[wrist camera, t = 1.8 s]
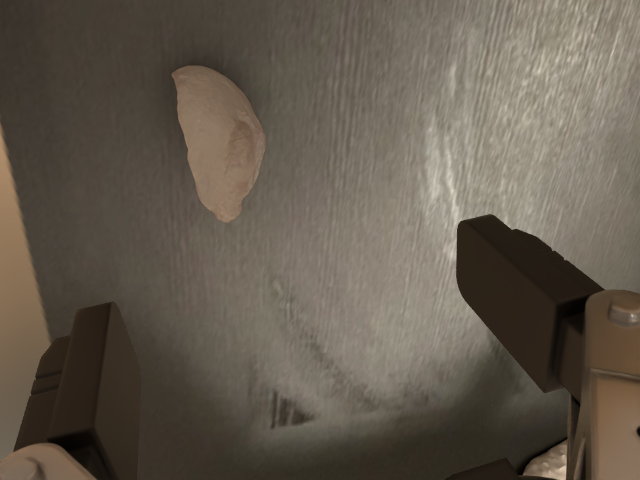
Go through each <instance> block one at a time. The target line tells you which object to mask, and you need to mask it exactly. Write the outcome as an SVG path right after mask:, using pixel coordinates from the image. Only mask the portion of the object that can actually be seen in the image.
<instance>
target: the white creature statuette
mask: <svg viewBox="0 0 640 480" xmlns="http://www.w3.org/2000/svg"><path fill="white" fill-rule="evenodd" d="M566 464H567V440H565V441H563V442H562V443H560V444H558V445H557V446H555V447H553V448H551V449H549V450H548V451H547V452H546V453H544V454H542V455H540V456H538V457H536V458H534V459H533V460H531V461H530V463H529V464H528V465H527V466H526V468H525V470H524V473H523V475H529V476H541V477H547V478H553V479H557V480H566Z"/></svg>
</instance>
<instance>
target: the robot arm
mask: <svg viewBox="0 0 640 480" xmlns="http://www.w3.org/2000/svg"><path fill="white" fill-rule="evenodd" d="M456 278H457V284H458V287H459V290H460V293H461V295H462V297H463V298H464V300H465V301H466V302H467V303H468V305H469V306H470V307H471V308H472V309H473V310H474V312H475V313H476V314H477V315H478V316H479V317H480V319H481V320H482V321H483V322H484V323H485V324H486V326H487V327H488V328H489V329H490V330H491V332H492V333H493V334H494V335H495V336H496V337H497V339H498V340H499V341H500V342H501V343H502V344H503V346H504V347H505V348H506V349H507V350H508V351H509V353H510V354H511V355H512V356H513V357H514V358H515V360H516V361H517V362H518V363H519V364H520V365H521V367H522V368H523V369H524V370H525V371H526V373H527V374H528V375H529V376H530V377H531V378H532V380H533V381H534V382H535V383H536V384H537V385H538V387H539V388H540V389H541V390H542V391H543V392H544V393H547V392H550V391H553V390H557V389H560V388H563V387H565V388H566V389H567V390H568V391H569V392H570V399H569V405H568V434H567V464H566V480H640V294H639V293H635V292H631V291H626V290H605V289H603V288H602V287H601V286H599V285H598V284H597V283H596V282H594V281H593V280H592V279H590V278H589V277H588V276H587V275H585V274H584V273H583V272H581V271H580V270H579V269H578V268H576V267H575V266H574V265H572V264H571V263H570V262H569V261H567V260H564V258H563V257H562V256H561V255H560V254H558V253H557V252H556V251H552V248H551V247H549V246H548V245H547V244H545V243H544V242H543V241H542V240H540V239H539V238H538V237H536V236H533V235H531V234H528V233H526V232H523V231H521V230H518V229H514V230H511V229H510V228H509V227H508V226H506V225H505V224H504V223H503V222H502V221H500V220H499V219H498V218H497V217H495V216H494V215H492V214H489V215H484V216H480V217H476V218H472V219H467V220H463V221H461V222H460V223H459V224H458V228H457V263H456ZM140 398H141V373H140V367H139V363H138V359H137V356H136V353H135V350H134V347H133V345H132V342H131V340H130V337H129V334H128V332H127V329H126V326H125V324H124V321H123V319H122V316H121V313H120V311H119V308H118V306H117V305H116V303H115V302H109V303H105V304H101V305H96V306H92V307H88V308H84V309H79V310H77V312H76V315H75V320H74V324H73V328H72V333H71V335H70V336H66V337H62V338H58V339H56V340H55V341H54V342H53V343H52V345H51V346H50V347H49V348H48V350H47V351H46V352H45V353H44V355H43V356H42V357H41V359H40V362H39V366H38V369H37V373H36V380H34V383H33V387H32V390H31V396H30V397H29V400H28V403H27V407H26V410H25V414H24V417H23V420H22V424H21V427H20V431H19V434H18V437H17V441H16V444H15V447H14V451H13V453H11V454H10V455H9V456H7V457H5V458H4V459H3V460H1V461H0V480H137V461H138V440H139V419H140ZM445 480H557V479H553V478H547V477H541V476H529V475H518V474H517V473H516V471H515V470H514V468H513V467H512V465H511V464H510V462H509V461H508V459H507V458H504V459H501V460H498V461H494V462H491V463H488V464H485V465H482V466H479V467H476V468H472V469H469V470H466V471H463V472H460V473H457V474H453V475H452V476H450V477H448V478H447V479H445Z"/></svg>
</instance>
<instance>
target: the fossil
mask: <svg viewBox="0 0 640 480" xmlns="http://www.w3.org/2000/svg"><path fill="white" fill-rule="evenodd" d="M172 77H173V78H174V80H175V84H176V89H177V93H178V95H177V101H178V106H177V112H178V121H179V123H180V125H181V128H182V130H183V133H184V138H185V142H186V145H187V147H188V154H187V161H188V162H189V165H190V168H191V171H192V174H193V176H194V179H195V183H196V190H197V195H198V197H199V199H200V200H201V202H202V203H203V205H204V206H205V207H206V208H207V209H208V210H210V211H212V212H214V214H215V216H216V218H217V219H219V220H220V221H223V222H226V223H227V222H230V221H232V220H234V219H235V218H236V217H237V216H238V215H239V213H240V212H241V210H242V205H241V202H242V200H243V198H244V197H245V196H246V195H247V194H248V193H249V192H250V190H251V188H252V187H253V185H254V182H255V181H256V179H257V177H258V173H259V169H260V164H261V161H262V158H263V154H264V151H265V135H264V132H263V129H262V126H261V124H260V122H259V120H258V119H257V117H256V115H255V114H254V112H253V109H252V106H251V104H250V102H249V101H248V99H247V97H246V96H245V94H244V93H243V92H242V91H241V90H240V89H239V88H238V87H237V86H236V85H235V84H234V83H233V82H232V81H231V80H230V79H229V78H227V77H225V76H224V75H222V74H220V73H219V72H217V71H215V70H213V69H210V68H208V67H205V66H196V65H191V66H185V67H182V68H179V69H177V70H176V71H174V72H173V73H172Z"/></svg>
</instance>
